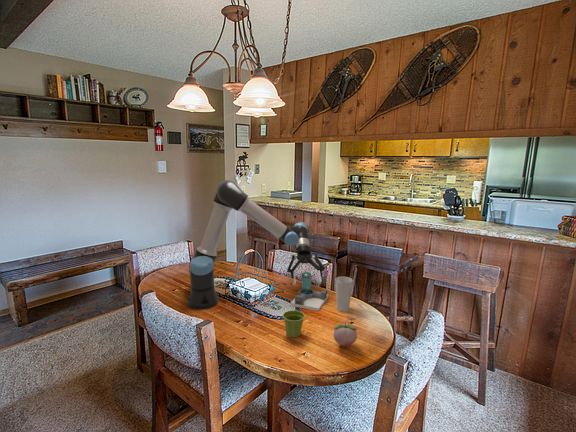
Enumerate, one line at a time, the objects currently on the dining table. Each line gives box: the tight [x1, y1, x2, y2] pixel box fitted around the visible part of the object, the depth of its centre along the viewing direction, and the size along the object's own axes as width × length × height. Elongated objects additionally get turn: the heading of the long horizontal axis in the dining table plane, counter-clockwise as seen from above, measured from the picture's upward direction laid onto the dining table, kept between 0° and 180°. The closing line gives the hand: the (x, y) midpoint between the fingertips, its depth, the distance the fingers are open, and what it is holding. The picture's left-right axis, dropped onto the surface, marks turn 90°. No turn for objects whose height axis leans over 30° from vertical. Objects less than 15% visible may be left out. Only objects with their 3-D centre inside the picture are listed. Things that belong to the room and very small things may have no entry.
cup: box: [334, 275, 354, 313], centre depth 159 cm, size 8×8×16 cm
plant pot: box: [282, 309, 306, 338], centre depth 137 cm, size 9×9×9 cm
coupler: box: [301, 271, 312, 294], centre depth 172 cm, size 5×5×12 cm
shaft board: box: [289, 288, 330, 312], centre depth 169 cm, size 18×15×5 cm
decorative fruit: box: [332, 322, 358, 347], centre depth 128 cm, size 9×8×10 cm
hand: (307, 283), depth 169 cm, fingers open, 13 cm apart
